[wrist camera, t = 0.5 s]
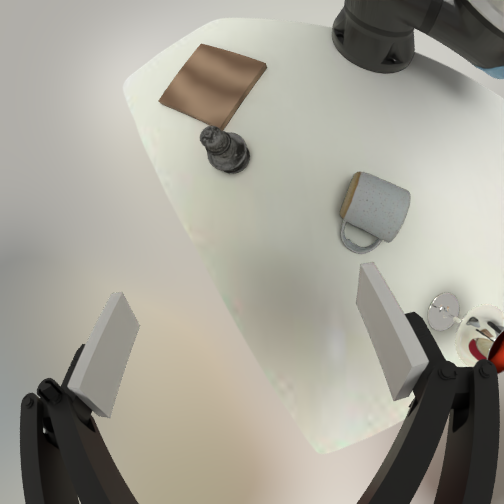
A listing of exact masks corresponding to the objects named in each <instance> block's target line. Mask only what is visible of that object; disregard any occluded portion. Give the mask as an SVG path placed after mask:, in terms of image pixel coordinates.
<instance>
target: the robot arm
mask: <svg viewBox="0 0 504 504" xmlns="http://www.w3.org/2000/svg"><path fill="white" fill-rule="evenodd" d="M414 28H415V29H417V30H419V31H421V32H423V33H425V34H427V35H428V36H430V37H432V38H434V39H436V40H437V41H439V42H440V43H442V44H444V45H445V46H447V47H449V48H450V49H452V50H453V51H455V52H456V53H458V54H459V55H460V56H462V57H463V58H465V59H466V60H468V61H469V62H470V63H472V65H474V66H475V67H477V68H479V69H481V70H483V71H484V72H486V73H487V74H488V75H490V76H492V77H494V78H497V79H504V0H345V5H344V7H343V9H342V10H341V12H340V13H339V15H338V16H337V18H336V19H335V21H334V24H333V28H332V39H333V42H334V44H335V46H336V48H337V49H338V51H339V52H340V53H341V54H342V55H343V56H344V57H345V58H347V59H348V60H349V61H351V62H352V63H354V64H356V65H358V66H360V67H362V68H364V69H367V70H370V71H374V72H380V73H394V72H398V71H401V70H403V69H404V68H406V67H407V66H408V65H409V63H410V61H411V59H412V57H413V55H414V32H413V30H414ZM356 304H357V306H358V309H359V311H360V313H361V316H362V318H363V321H364V323H365V325H366V328H367V330H368V333H369V335H370V338H371V340H372V343H373V345H374V348H375V351H376V353H377V356H378V359H379V361H380V364H381V367H382V369H383V372H384V375H385V378H386V380H387V383H388V386H389V389H390V392H391V395H392V398H393V401H396V400H399V399H402V398H406V397H409V395H410V393H411V392H412V390H413V392H414V395H415V398H414V399H413V401H412V402H411V404H410V405H409V407H410V409H409V411H408V414H407V416H406V418H405V420H404V423H403V425H402V427H401V429H400V431H399V433H398V435H397V437H396V439H395V441H394V443H393V445H392V447H391V449H390V451H389V453H388V454H387V456H386V458H385V460H384V462H383V463H382V465H381V467H380V468H379V470H378V472H377V473H376V475H375V477H374V478H373V480H372V482H371V483H370V485H369V486H368V488H367V489H366V491H365V492H364V494H363V495H362V497H361V498H360V500H359V501H358V502H357V504H410V502H411V500H412V498H413V497H414V495H415V493H416V491H417V489H418V487H419V485H420V483H421V481H422V479H423V477H424V475H425V473H426V471H427V469H428V467H429V464H430V462H431V460H432V458H433V456H434V453H435V451H436V448H437V446H438V443H439V441H440V438H441V436H442V433H443V430H444V427H445V424H446V421H447V419H448V415H449V412H450V415H449V426H448V435H447V443H446V450H445V456H444V461H443V467H442V472H441V476H440V481H439V485H438V489H437V493H436V497H435V501H434V504H490V503H491V499H492V493H493V488H494V483H495V476H496V469H497V460H498V449H499V428H500V424H499V423H500V414H499V411H500V410H499V389H498V376H497V369H496V367H495V365H494V364H493V363H492V362H491V361H490V360H487V359H481V360H479V361H477V362H476V364H475V365H474V367H456V365H455V364H454V363H452V362H450V361H446V360H445V358H444V356H443V355H442V353H441V351H440V349H439V347H438V345H437V343H436V341H435V340H434V338H433V336H432V335H431V332H430V331H429V329H428V328H427V325H426V324H425V322H424V320H423V318H421V317H420V316H419V315H418V314H417V313H415V312H411V313H407V314H404V312H403V311H402V309H401V307H400V305H399V303H398V302H397V300H396V298H395V296H394V295H393V293H392V291H391V290H390V288H389V286H388V285H387V283H386V281H385V280H384V278H383V276H382V275H381V273H380V271H379V270H378V268H377V267H376V265H375V263H374V262H371V263H364V264H360V274H359V283H358V292H357V300H356ZM139 327H140V325H139V323H138V321H137V319H136V317H135V315H134V313H133V311H132V310H131V308H130V306H129V304H128V302H127V300H126V298H125V296H124V294H123V292H116V293H112V294H111V296H110V298H109V299H108V301H107V303H106V305H105V307H104V309H103V311H102V312H101V314H100V316H99V318H98V320H97V322H96V324H95V326H94V328H93V330H92V332H91V335H90V336H89V338H88V341H87V343H86V344H82V346H81V347H80V348H79V349H78V350H77V352H76V354H75V356H74V358H73V360H72V362H71V366H70V367H69V369H68V372H67V373H66V376H65V378H64V380H63V383H62V385H61V387H60V386H59V385H58V383H56V382H55V380H53V379H51V378H47V379H44V380H43V381H42V382H41V383H40V384H39V386H38V389H37V395H38V396H40V397H41V398H39V397H37V396H36V395H35V394H34V393H29V394H27V395H26V396H25V397H24V398H23V400H22V403H21V416H20V455H21V470H22V480H23V489H24V496H25V502H26V504H79V500H80V502H81V504H138V502H137V501H136V499H135V497H134V496H133V494H132V493H131V491H130V489H129V488H128V486H127V485H126V483H125V481H124V479H123V478H122V476H121V474H120V472H119V470H118V469H117V467H116V465H115V463H114V461H113V459H112V457H111V455H110V453H109V451H108V449H107V447H106V445H105V443H104V441H103V439H102V436H101V434H100V432H99V430H98V427H97V425H96V423H95V420H94V418H93V417H92V416H91V413H92V411H94V412H95V413H96V414H97V415H98V416H101V417H107V418H110V417H111V413H112V409H113V406H114V403H115V399H116V396H117V392H118V389H119V386H120V383H121V380H122V377H123V373H124V370H125V367H126V364H127V361H128V358H129V355H130V353H131V350H132V347H133V344H134V341H135V338H136V335H137V333H138V330H139ZM43 428H45V430H46V432H45V433H43ZM77 495H78V496H77ZM78 497H79V500H78Z"/></svg>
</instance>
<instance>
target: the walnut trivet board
mask: <svg viewBox="0 0 504 504" xmlns="http://www.w3.org/2000/svg"><path fill="white" fill-rule="evenodd" d="M266 69H267V66H266V63H264V62H261V61H258V60H255V59H252V58H249V57H246V56H243V55H240V54H237V53H233V52H230V51H227V50H223V49H220V48H216V47H212V46H208V45H205V44H200V46H199V47H198V48H197V49H196V51H195V52H194V53H193V54H192V56H191V57H190V58H189V59H188V61H187V62H186V63H185V64H184V66H183V67H182V68H181V70H180V71H179V72H178V74H177V75H176V76H175V78H174V79H173V81H172V82H171V83H170V85H169V86H168V88H167V89H166V91H165V92H164V93H163V95H162V96H161V98H160V99H159V102H160V103H161V104H163V105H165V106H168V107H170V108H172V109H175V110H177V111H179V112H182V113H184V114H186V115H189V116H191V117H193V118H195V119H198V120H200V121H202V122H204V123H206V124H208V125H211V126H216V127H218V128H219V129H220V130H221V131H223V130H224V128H225V127H226V125H227V124H228V122H229V121H230V119H231V118H232V116H233V115H234V113H235V112H236V110H237V109H238V107H239V106H240V105H241V103H242V102H243V100H244V99H245V97H246V96H247V95H248V93H249V92H250V90H251V89H252V88H253V86H254V85H255V83H256V82H257V81H258V79H259V78H260V77H261V75H262V74H263V73H264V71H265V70H266Z"/></svg>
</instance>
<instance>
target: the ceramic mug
mask: <svg viewBox="0 0 504 504" xmlns="http://www.w3.org/2000/svg"><path fill="white" fill-rule="evenodd" d="M409 205H410V193H409V191H407V190H405V189H403V188H401V187H399V186H396V185H394V184H392V183H390V182H387V181H385V180H382V179H380V178H378V177H376V176H373V175H371V174H368V173H364V172H357V173H355V174H354V176H353V178H352V181H351V183H350V186H349V189H348V191H347V194H346V196H345V199H344V202H343V205H342V207H341V210H340V215H341V217H342V218H343V219H344V221H343V224H342V228H341V238H342V241H343V243H344V245H345V246H346V247H347V248H348V249H350V250H351V251H353V252H355V253H359V254H364V253H367V252H370V251H372V250H373V249H375V248H376V247H377V246H378V245H379V244H380V242H381V241H382V240H384V241H385V242H388V243H389V242H391V241H392V240H393V239H394V238H395V237H396V235H397V234H398V232H399V230H400V229H401V227H402V225H403V223H404V220H405V218H406V215H407V212H408V208H409ZM347 222H348V223H350V224H352V225H354V226H356V227H359V228H361V229H363V230H365V231H367V232H369V233H370V234H372V235H374V236H376V237H378V239H377V240H376V241H375V242H374V243H373V244H372V245H370V246H368V247H366V248H362V247H359V246H357V245H355V244H354V243H352V242H351V241H350V240H349V239H346V237H345V233H344V228H345V225H346V223H347Z"/></svg>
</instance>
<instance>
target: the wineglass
mask: <svg viewBox="0 0 504 504" xmlns="http://www.w3.org/2000/svg"><path fill="white" fill-rule="evenodd" d="M458 314H459V302H458V300H457V298H456V297H455V296H454V295H453V294H451V293H442V294H440V295H438V296H437V297H436V298H435V299H434V300H433V301H432V303H431V305H430V307H429V310H428V321H429V324H430V326H431V327H432V328H433V329H435V330H438V331H443V330H446V329H448V328H449V327H451V326H452V325H453V324H454V322H456V323H458V324H459V325H458V328H457V331H456V336H455V348H456V352H457V355H458V357H459V359H460V360H461V361H462V362H463V363H464V364H465V365H467V366H469V367H474V365H475V364H476V362H477V361H479V360H481V359H487V360H490V361H491V362H492V363H493V364H494V365H495V367H496V369H497V374H500V373H502V372H504V312H503V311H502V310H501V309H499V308H498V307H496V306H494V305H492V304H481V305H478V306H476V307H474V308H472V309H471V310H470V311H468V312H467V313H466V314H465V316H464V317H463V318H462V320H461V319H460V318H458Z"/></svg>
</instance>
